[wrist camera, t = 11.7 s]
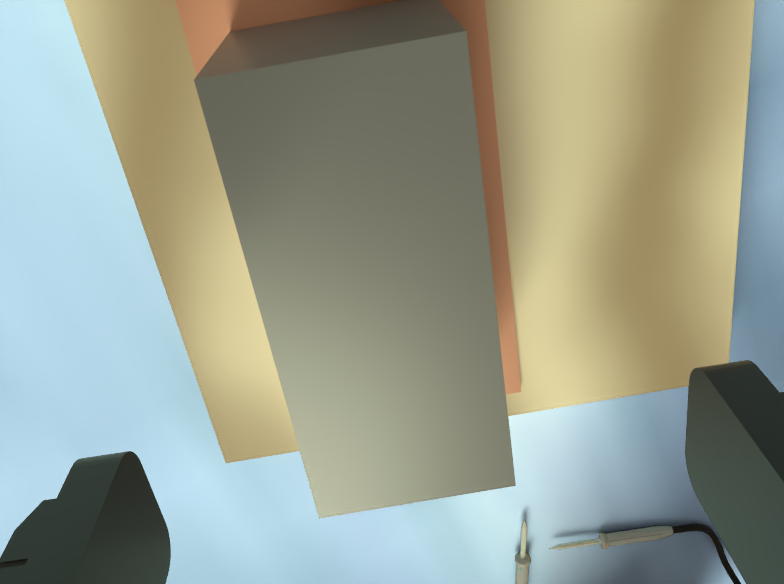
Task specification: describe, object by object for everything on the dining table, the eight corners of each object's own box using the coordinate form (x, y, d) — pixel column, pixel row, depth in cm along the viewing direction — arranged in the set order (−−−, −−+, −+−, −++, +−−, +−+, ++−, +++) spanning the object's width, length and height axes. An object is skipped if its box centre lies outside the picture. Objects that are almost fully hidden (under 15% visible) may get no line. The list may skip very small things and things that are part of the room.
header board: (735, -175, 18) (867, -195, 13) (706, 353, 25) (786, 453, 20) (68, -54, 18) (-19, -35, 13) (231, 433, 25) (209, 549, 21)
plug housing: (433, -6, 17) (466, 30, 13) (480, 368, 22) (515, 485, 18) (230, 31, 17) (193, 79, 13) (322, 395, 22) (319, 518, 18)
